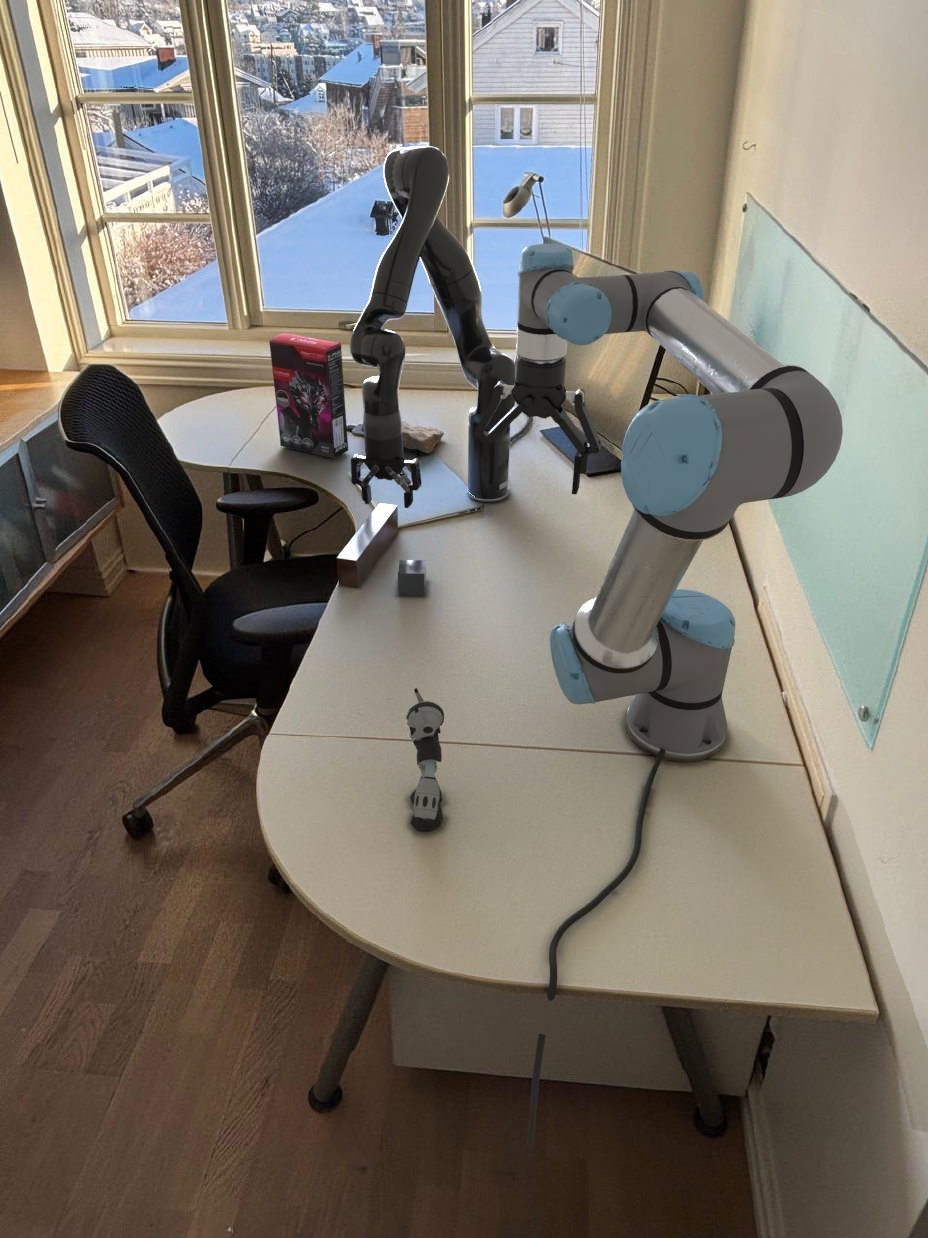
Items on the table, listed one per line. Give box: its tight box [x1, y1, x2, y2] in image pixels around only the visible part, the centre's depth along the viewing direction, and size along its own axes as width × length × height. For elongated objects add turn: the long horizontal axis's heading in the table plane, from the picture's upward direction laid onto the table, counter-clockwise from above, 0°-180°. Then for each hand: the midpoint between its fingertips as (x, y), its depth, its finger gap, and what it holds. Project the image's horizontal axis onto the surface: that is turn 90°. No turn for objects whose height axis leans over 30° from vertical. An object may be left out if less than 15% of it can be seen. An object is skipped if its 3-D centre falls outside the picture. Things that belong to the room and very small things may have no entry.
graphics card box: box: [268, 332, 349, 459], centre depth 224 cm, size 17×7×27 cm, turn 62°
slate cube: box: [397, 559, 427, 597], centre depth 176 cm, size 5×5×5 cm
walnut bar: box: [336, 502, 399, 589], centre depth 186 cm, size 24×4×6 cm, turn 165°
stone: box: [360, 420, 444, 454], centre depth 233 cm, size 21×15×6 cm
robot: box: [405, 687, 445, 833], centre depth 123 cm, size 20×5×20 cm, turn 3°
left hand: (387, 504), depth 191 cm, fingers open, 8 cm apart
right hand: (533, 485), depth 149 cm, fingers open, 13 cm apart
